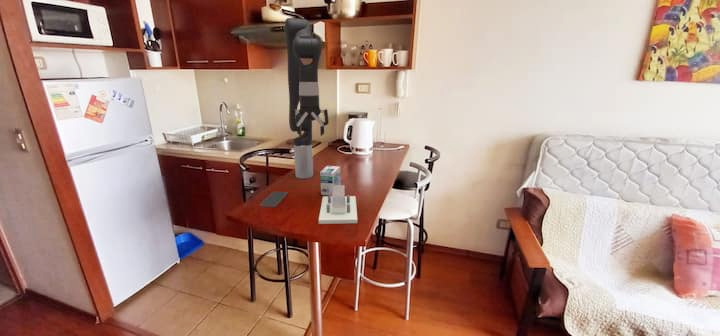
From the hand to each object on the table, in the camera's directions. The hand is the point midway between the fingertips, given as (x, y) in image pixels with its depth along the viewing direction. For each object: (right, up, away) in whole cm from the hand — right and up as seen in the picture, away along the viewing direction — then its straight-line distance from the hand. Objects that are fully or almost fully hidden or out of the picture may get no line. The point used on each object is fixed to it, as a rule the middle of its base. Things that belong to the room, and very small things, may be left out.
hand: (310, 135), depth 122 cm
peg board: (+11, -30, -2) cm, 32 cm away
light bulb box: (+6, -24, +18) cm, 31 cm away
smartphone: (-17, -27, +9) cm, 33 cm away
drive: (+11, -29, -2) cm, 31 cm away
